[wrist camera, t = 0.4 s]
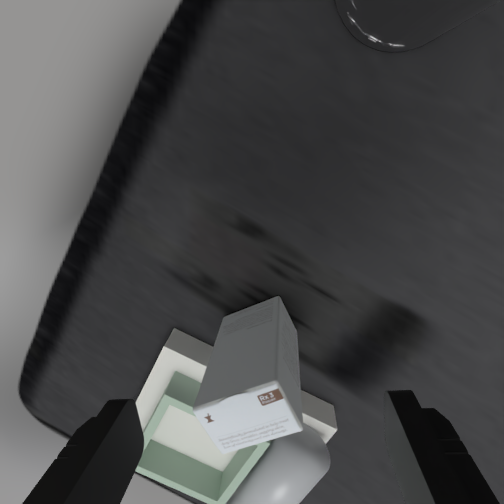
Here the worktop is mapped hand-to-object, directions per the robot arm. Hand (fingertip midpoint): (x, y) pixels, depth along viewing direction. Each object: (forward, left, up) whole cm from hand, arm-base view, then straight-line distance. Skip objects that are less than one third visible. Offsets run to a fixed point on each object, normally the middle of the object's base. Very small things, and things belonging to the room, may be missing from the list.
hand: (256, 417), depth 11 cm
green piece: (+20, +3, -17) cm, 27 cm away
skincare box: (+8, +3, -20) cm, 22 cm away
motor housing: (+20, +5, -20) cm, 29 cm away
